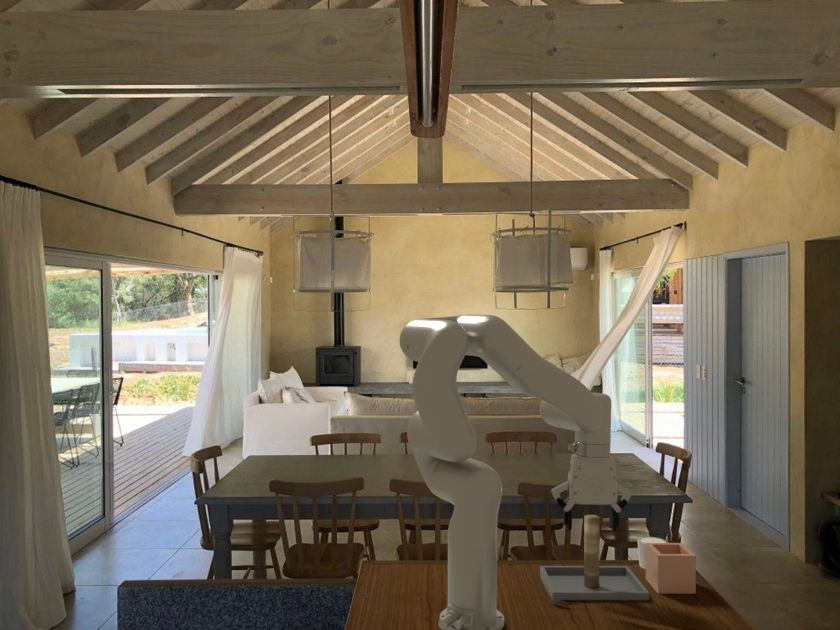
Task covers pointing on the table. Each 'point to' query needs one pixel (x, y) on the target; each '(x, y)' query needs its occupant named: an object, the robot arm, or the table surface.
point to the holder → (670, 568)
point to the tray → (571, 587)
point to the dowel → (591, 551)
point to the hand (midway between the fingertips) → (590, 528)
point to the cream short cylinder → (642, 548)
